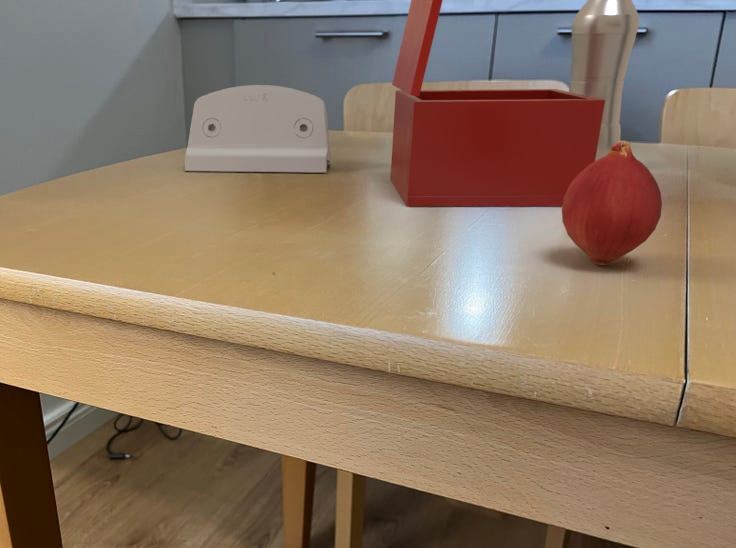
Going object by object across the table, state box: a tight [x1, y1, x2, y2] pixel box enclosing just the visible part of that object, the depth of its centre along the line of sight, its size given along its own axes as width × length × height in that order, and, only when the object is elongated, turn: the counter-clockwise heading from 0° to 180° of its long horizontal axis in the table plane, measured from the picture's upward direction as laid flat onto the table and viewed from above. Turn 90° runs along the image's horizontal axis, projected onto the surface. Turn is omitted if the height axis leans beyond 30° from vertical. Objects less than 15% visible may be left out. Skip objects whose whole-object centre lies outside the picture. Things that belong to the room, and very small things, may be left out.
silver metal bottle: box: [568, 0, 640, 161], centre depth 82 cm, size 6×7×20 cm
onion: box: [561, 140, 663, 266], centre depth 48 cm, size 6×6×8 cm
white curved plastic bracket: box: [184, 84, 332, 174], centre depth 86 cm, size 17×5×10 cm, turn 82°
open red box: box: [389, 88, 605, 207], centre depth 71 cm, size 16×13×9 cm
